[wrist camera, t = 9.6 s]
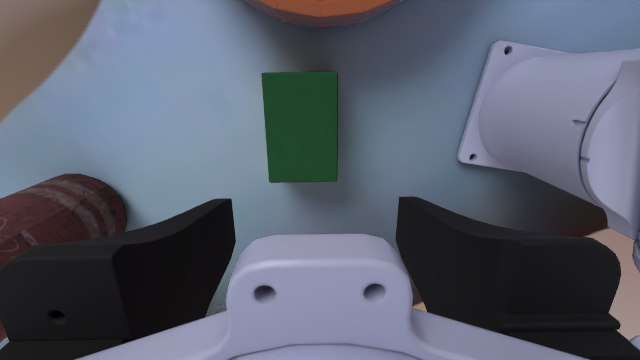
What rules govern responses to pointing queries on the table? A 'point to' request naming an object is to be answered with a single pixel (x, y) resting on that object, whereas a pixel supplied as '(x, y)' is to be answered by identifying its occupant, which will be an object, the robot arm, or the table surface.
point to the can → (58, 215)
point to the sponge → (301, 125)
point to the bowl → (323, 11)
